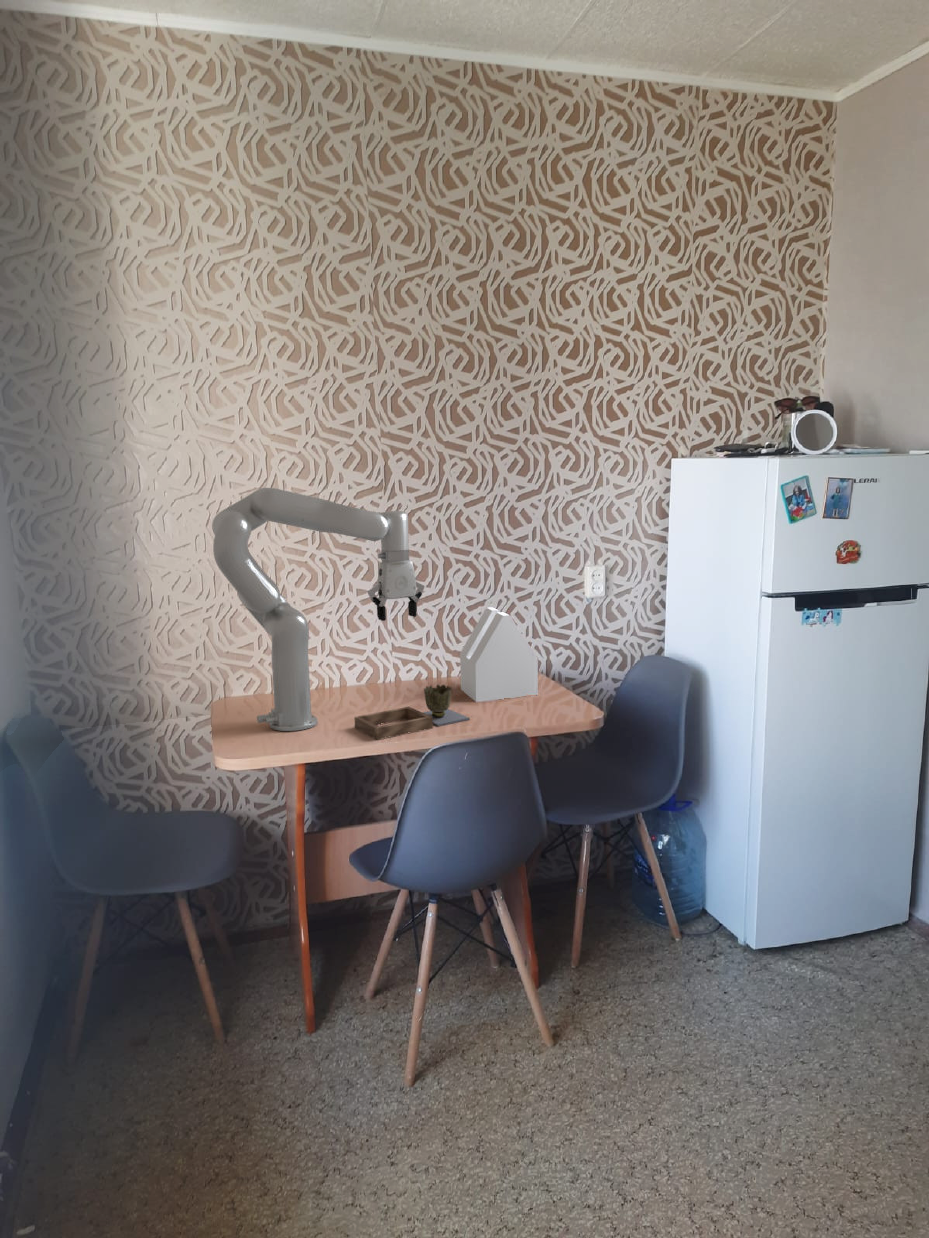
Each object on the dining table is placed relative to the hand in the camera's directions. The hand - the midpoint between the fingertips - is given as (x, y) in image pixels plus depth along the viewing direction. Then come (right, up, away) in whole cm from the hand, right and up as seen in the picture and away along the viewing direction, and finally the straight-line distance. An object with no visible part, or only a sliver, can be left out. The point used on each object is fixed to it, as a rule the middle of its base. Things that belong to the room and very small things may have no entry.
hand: (397, 618), depth 234 cm
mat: (+12, -27, -4) cm, 30 cm away
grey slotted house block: (+29, -23, +21) cm, 42 cm away
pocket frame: (0, -29, -12) cm, 31 cm away
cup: (+11, -27, -5) cm, 30 cm away
